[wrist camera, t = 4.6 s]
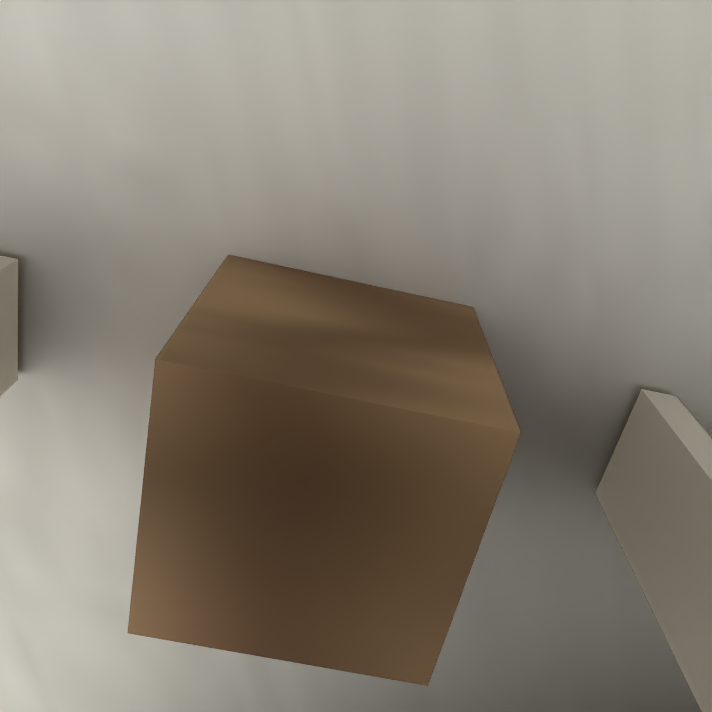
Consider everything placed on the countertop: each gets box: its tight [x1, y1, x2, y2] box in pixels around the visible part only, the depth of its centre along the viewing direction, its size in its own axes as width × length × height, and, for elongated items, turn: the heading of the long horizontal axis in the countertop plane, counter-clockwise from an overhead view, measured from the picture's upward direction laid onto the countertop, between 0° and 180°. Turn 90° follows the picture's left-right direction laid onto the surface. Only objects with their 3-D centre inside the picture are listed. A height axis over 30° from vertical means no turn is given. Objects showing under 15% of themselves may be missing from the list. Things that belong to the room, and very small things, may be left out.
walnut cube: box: [128, 255, 521, 686], centre depth 12 cm, size 5×5×5 cm
